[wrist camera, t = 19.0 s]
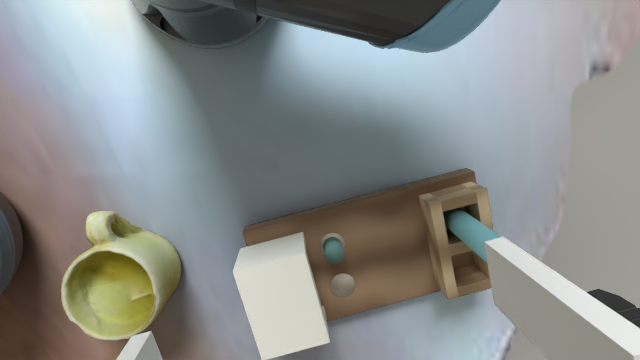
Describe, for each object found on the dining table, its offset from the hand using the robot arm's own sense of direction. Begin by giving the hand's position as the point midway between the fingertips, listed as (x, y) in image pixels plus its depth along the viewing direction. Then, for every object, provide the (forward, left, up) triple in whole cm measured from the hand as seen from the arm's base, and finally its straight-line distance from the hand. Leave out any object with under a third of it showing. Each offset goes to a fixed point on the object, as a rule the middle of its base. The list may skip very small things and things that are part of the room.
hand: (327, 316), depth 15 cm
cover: (+11, -5, -26) cm, 29 cm away
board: (+11, +5, -29) cm, 31 cm away
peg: (+9, +14, -27) cm, 32 cm away
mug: (+4, -20, -29) cm, 35 cm away
